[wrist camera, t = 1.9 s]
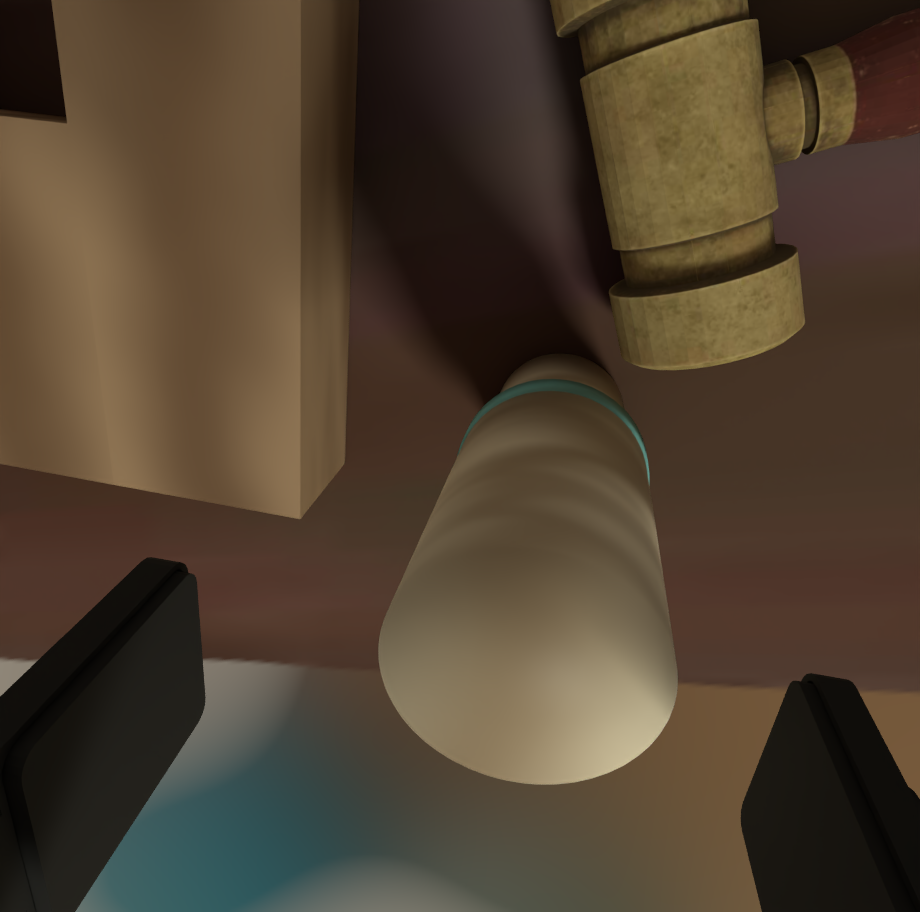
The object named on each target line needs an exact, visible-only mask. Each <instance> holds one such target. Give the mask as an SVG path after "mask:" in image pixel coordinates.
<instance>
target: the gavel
mask: <svg viewBox="0 0 920 912" xmlns="http://www.w3.org/2000/svg"><path fill="white" fill-rule="evenodd" d="M550 3H551V8H552V13H553V18H554V23H555V28H556V33H557V35H558V37H562V38H571V37H579V41H580V47H581V52H582V57H583V62H584V68H585V73H586V75H585V76H584V77H583V78H582V79H581V80H580V83H581V89H582V94H583V99H584V104H585V109H586V114H587V119H588V125H589V130H590V135H591V140H592V145H593V150H594V155H595V160H596V166H597V171H598V176H599V181H600V186H601V191H602V196H603V202H604V207H605V212H606V217H607V222H608V227H609V232H610V237H611V243H612V248H613V249H615V250H620V256H621V261H622V266H623V271H624V276H625V279H623V280H621V281H619V282H618V283H616V284H615V285H613V286H612V287H611V288H610V289H609V297H610V302H611V307H612V312H613V317H614V322H615V326H616V331H617V336H618V341H619V346H620V351H621V356H622V358H623V359H624V360H625V361H627V362H629V363H631V364H634V365H637V366H640V367H643V368H648V369H656V370H682V369H694V368H701V367H708V366H714V365H719V364H724V363H729V362H733V361H737V360H740V359H744V358H748V357H751V356H754V355H757V354H760V353H762V352H765V351H767V350H769V349H772V348H774V347H776V346H778V345H780V344H781V343H783V342H785V341H786V340H787V339H789V338H790V337H791V336H792V335H794V334H795V333H796V332H797V331H799V330H800V329H801V328H802V327H803V325H804V324H805V318H804V308H803V298H802V288H801V279H800V269H799V259H798V249H797V248H796V247H795V246H793V245H788V244H775V237H774V228H773V220H772V212H774V211H775V210H776V209H777V208H778V198H777V189H776V180H775V171H774V165H777V164H781V163H784V162H788V161H791V160H794V159H797V158H798V156H799V155H800V153H801V152H803V153H804V154H807V155H808V154H812V153H815V152H819V151H822V150H826V149H829V148H833V147H836V146H840V145H847V144H856V143H865V142H873V141H882V140H890V139H899V138H902V137H906V136H909V135H913V134H916V133H920V8H918V9H914V10H911V11H908V12H905V13H902V14H899V15H895V16H892V17H890V18H888V19H886V20H884V21H882V22H880V23H878V24H876V25H874V26H872V27H870V28H868V29H866V30H864V31H862V32H860V33H858V34H856V35H854V36H852V37H849V38H847V39H845V40H843V41H841V42H839V43H837V44H835V45H833V46H830V47H827V48H824V49H820V50H817V51H814V52H811V53H808V54H804V55H801V56H798V57H797V58H796V59H795V60H794V62H793V63H791V62H790V61H788V60H787V59H786V60H781V61H778V62H774V63H771V64H768V65H765V66H763V62H762V53H761V43H760V34H759V25H758V20H757V19H750V17H749V8H748V0H550Z"/></svg>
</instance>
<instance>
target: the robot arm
mask: <svg viewBox="0 0 920 912" xmlns="http://www.w3.org/2000/svg"><path fill="white" fill-rule="evenodd" d="M204 706H205V686H204V672H203V659H202V645H201V632H200V618H199V605H198V591H197V581H196V577H195V575H193V574H190V573H188V569H187V567H186V565H185V564H183V563H181V562H175V561H169V560H164V559H158V558H152V557H149V558H146V559H144V560H143V561H142V562H140V563H139V564H138V565H137V566H136V567H135V568H134V569H133V570H132V571H131V572H130V573H129V574H128V575H127V576H126V577H125V578H124V579H123V580H122V581H121V582H120V583H119V584H118V585H117V586H115V587H114V588H113V589H112V590H111V591H110V592H109V593H108V594H107V595H106V596H105V597H104V598H103V599H102V600H101V601H100V602H99V603H98V604H97V605H96V606H95V607H94V608H93V609H92V610H91V611H89V612H88V613H87V614H86V615H85V616H84V617H83V618H82V619H81V620H80V621H79V622H78V623H77V624H76V625H75V626H74V627H73V628H72V629H71V630H70V631H69V632H68V633H67V634H66V635H64V636H63V637H62V638H61V639H60V640H59V641H58V642H57V643H56V644H55V645H54V646H53V647H52V648H50V649H49V650H48V651H47V652H46V653H45V654H44V655H43V656H42V657H41V658H40V659H39V660H38V661H37V662H36V663H35V664H34V665H33V666H32V667H31V668H30V669H29V670H28V671H27V672H26V673H24V674H23V675H22V676H21V677H20V678H19V679H18V680H17V681H16V682H15V683H14V684H13V685H12V686H11V687H10V688H9V689H8V690H7V691H6V692H5V693H4V694H3V695H2V696H0V912H75V911H76V910H77V908H78V907H79V905H80V903H81V902H82V900H83V899H84V897H85V896H86V894H87V893H88V891H89V890H90V888H91V887H92V885H93V883H94V882H95V880H96V879H97V877H98V876H99V874H100V873H101V871H102V870H103V868H104V867H105V865H106V864H107V862H108V860H109V859H110V857H111V856H112V854H113V853H114V851H115V850H116V848H117V847H118V845H119V844H120V842H121V841H122V839H123V837H124V836H125V834H126V833H127V831H128V830H129V828H130V826H131V825H132V824H133V822H134V821H135V819H136V817H137V816H138V814H139V813H140V811H141V810H142V808H143V807H144V805H145V804H146V802H147V801H148V799H149V797H150V796H151V794H152V793H153V791H154V790H155V788H156V787H157V785H158V784H159V782H160V780H161V779H162V777H163V776H164V774H165V773H166V771H167V770H168V768H169V767H170V765H171V764H172V762H173V761H174V759H175V758H176V756H177V755H178V753H179V751H180V750H181V748H182V747H183V745H184V744H185V742H186V741H187V739H188V738H189V736H190V735H191V733H192V731H193V730H194V728H195V727H196V725H197V724H198V722H199V720H200V718H201V716H202V713H203V710H204ZM741 827H742V832H743V836H744V840H745V844H746V848H747V852H748V856H749V861H750V865H751V869H752V873H753V877H754V881H755V885H756V889H757V893H758V897H759V901H760V905H761V909H762V912H920V799H919V798H918V796H917V795H916V793H915V792H914V791H913V790H912V789H911V788H909V787H908V785H907V784H906V782H905V780H904V778H903V776H902V774H901V772H900V770H899V768H898V766H897V765H896V763H895V761H894V759H893V757H892V755H891V753H890V751H889V749H888V747H887V745H886V744H885V742H884V740H883V738H882V736H881V734H880V732H879V730H878V728H877V726H876V724H875V722H874V721H873V719H872V717H871V715H870V713H869V711H868V709H867V707H866V705H865V704H864V702H863V699H862V698H861V696H860V694H859V692H858V690H857V688H856V687H855V685H854V684H853V682H851V681H849V680H846V679H841V678H835V677H829V676H823V675H818V674H812V673H810V674H806V675H805V676H804V677H803V679H802V681H801V682H800V681H792V682H791V683H790V685H789V687H788V689H787V692H786V694H785V697H784V699H783V702H782V705H781V707H780V710H779V712H778V715H777V717H776V720H775V722H774V725H773V727H772V730H771V732H770V735H769V737H768V740H767V743H766V745H765V748H764V750H763V753H762V755H761V758H760V760H759V763H758V765H757V768H756V771H755V773H754V776H753V778H752V781H751V784H750V786H749V788H748V791H747V793H746V796H745V799H744V801H743V804H742V809H741Z"/></svg>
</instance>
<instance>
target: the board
mask: <svg viewBox="0 0 920 912" xmlns="http://www.w3.org/2000/svg"><path fill="white" fill-rule="evenodd" d="M51 1H52V9H53V17H54V24H55V32H56V40H57V48H58V56H59V63H60V71H61V79H62V87H63V94H64V102H65V110H66V117H63V116H55V115H46V114H37V113H28V112H20V111H11V110H2V109H0V464H4V465H10V466H15V467H21V468H26V469H31V470H37V471H42V472H48V473H53V474H59V475H64V476H69V477H75V478H80V479H86V480H91V481H97V482H102V483H107V484H113V485H118V486H124V487H129V488H134V489H140V490H145V491H151V492H156V493H162V494H167V495H172V496H178V497H183V498H189V499H194V500H200V501H205V502H210V503H216V504H221V505H227V506H232V507H238V508H243V509H248V510H254V511H259V512H265V513H270V514H275V515H281V516H286V517H292V518H297V519H301V518H302V516H303V515H304V514H305V513H306V511H307V510H308V509H309V508H310V506H311V505H312V504H313V503H314V501H315V500H316V499H317V497H318V496H319V495H320V494H321V492H322V491H323V490H324V489H325V487H326V486H327V485H328V484H329V482H330V481H331V480H332V479H333V477H334V476H335V475H336V474H337V472H338V471H339V470H340V469H341V467H342V466H343V465H344V464H345V440H346V408H347V376H348V344H349V312H350V280H351V248H352V216H353V184H354V152H355V120H356V88H357V56H358V24H359V0H51Z"/></svg>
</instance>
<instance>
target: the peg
mask: <svg viewBox="0 0 920 912" xmlns="http://www.w3.org/2000/svg"><path fill="white" fill-rule="evenodd" d="M378 650H379V665H380V671H381V676H382V679H383V682H384V685H385V688H386V691H387V693H388V695H389V697H390V699H391V701H392V703H393V705H394V706H395V708H396V709H397V711H398V712H399V714H400V715H401V717H402V718H403V719H404V720H405V722H406V723H407V724H408V725H409V726H410V728H411V729H412V730H413V731H414V732H415V733H417V735H419V736H420V737H421V738H422V739H423V740H424V741H425V742H426V743H428V744H429V745H430V746H432V747H433V748H434V749H435V750H437V751H438V752H440V753H441V754H443V755H445V756H446V757H448V758H449V759H451V760H453V761H455V762H457V763H459V764H461V765H463V766H465V767H467V768H469V769H471V770H474V771H477V772H479V773H482V774H485V775H488V776H492V777H495V778H499V779H502V780H508V781H513V782H519V783H528V784H563V783H571V782H577V781H582V780H587V779H591V778H594V777H597V776H600V775H603V774H606V773H609V772H611V771H613V770H615V769H617V768H619V767H622V766H623V765H625V764H627V763H628V762H630V761H631V760H633V759H634V758H636V757H637V756H638V755H640V754H641V753H642V752H643V751H644V750H646V749H647V748H648V747H649V746H650V745H651V744H652V743H653V741H654V740H655V739H656V738H657V737H658V736H659V734H660V733H661V731H662V730H663V728H664V727H665V725H666V723H667V722H668V720H669V717H670V715H671V712H672V710H673V707H674V704H675V699H676V694H677V684H678V672H677V665H676V657H675V651H674V644H673V638H672V631H671V625H670V618H669V612H668V605H667V598H666V592H665V585H664V579H663V572H662V566H661V559H660V553H659V546H658V540H657V533H656V526H655V520H654V513H653V507H652V500H651V494H650V487H649V467H648V460H647V454H646V448H645V445H644V442H643V438H642V436H641V434H640V432H639V429H638V427H637V426H636V424H635V423H634V421H633V419H632V418H631V417H630V415H629V414H628V413H627V412H626V411H625V410H624V406H623V400H622V397H621V393H620V391H619V389H618V387H617V385H616V383H615V382H614V380H613V379H612V378H611V377H610V375H609V374H608V373H607V372H606V371H605V370H604V369H602V368H601V367H600V366H598V365H597V364H596V363H594V362H592V361H590V360H588V359H586V358H583V357H580V356H577V355H572V354H563V353H557V354H548V355H543V356H540V357H536V358H534V359H532V360H530V361H528V362H526V363H525V364H523V365H521V366H520V367H519V368H518V369H516V370H515V371H514V372H513V373H512V374H511V375H510V377H509V378H508V379H507V381H506V382H505V384H504V386H503V388H502V390H501V392H500V394H498V395H496V396H495V397H494V398H492V399H491V400H490V401H489V402H488V403H486V404H485V405H484V406H483V408H482V409H481V410H480V411H479V412H478V413H477V415H476V416H475V417H474V419H473V420H472V422H471V424H470V426H469V428H468V430H467V432H466V434H465V436H464V438H463V441H462V443H461V446H460V449H459V452H458V455H457V459H456V461H455V463H454V465H453V467H452V470H451V472H450V474H449V476H448V478H447V481H446V483H445V485H444V487H443V490H442V492H441V494H440V496H439V498H438V501H437V503H436V505H435V507H434V509H433V512H432V514H431V516H430V518H429V521H428V523H427V525H426V527H425V529H424V532H423V534H422V536H421V538H420V540H419V543H418V545H417V547H416V549H415V552H414V554H413V556H412V558H411V560H410V563H409V565H408V567H407V569H406V571H405V574H404V576H403V578H402V580H401V583H400V585H399V587H398V589H397V591H396V594H395V596H394V598H393V600H392V602H391V605H390V607H389V609H388V611H387V614H386V616H385V619H384V622H383V625H382V628H381V631H380V638H379V645H378Z"/></svg>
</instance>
